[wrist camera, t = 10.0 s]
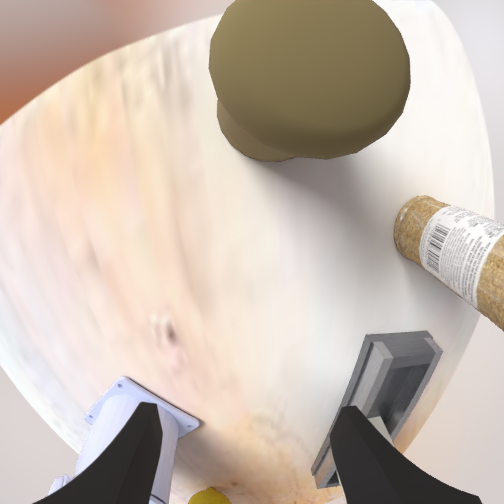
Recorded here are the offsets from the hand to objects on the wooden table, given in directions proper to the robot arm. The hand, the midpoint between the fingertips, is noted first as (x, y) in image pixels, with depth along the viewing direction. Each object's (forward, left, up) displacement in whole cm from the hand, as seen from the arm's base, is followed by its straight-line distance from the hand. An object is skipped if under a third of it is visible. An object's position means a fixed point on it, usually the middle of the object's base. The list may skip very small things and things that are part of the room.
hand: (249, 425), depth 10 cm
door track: (-2, -17, -9) cm, 20 cm away
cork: (+10, +7, -10) cm, 16 cm away
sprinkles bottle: (+12, -5, -10) cm, 16 cm away
